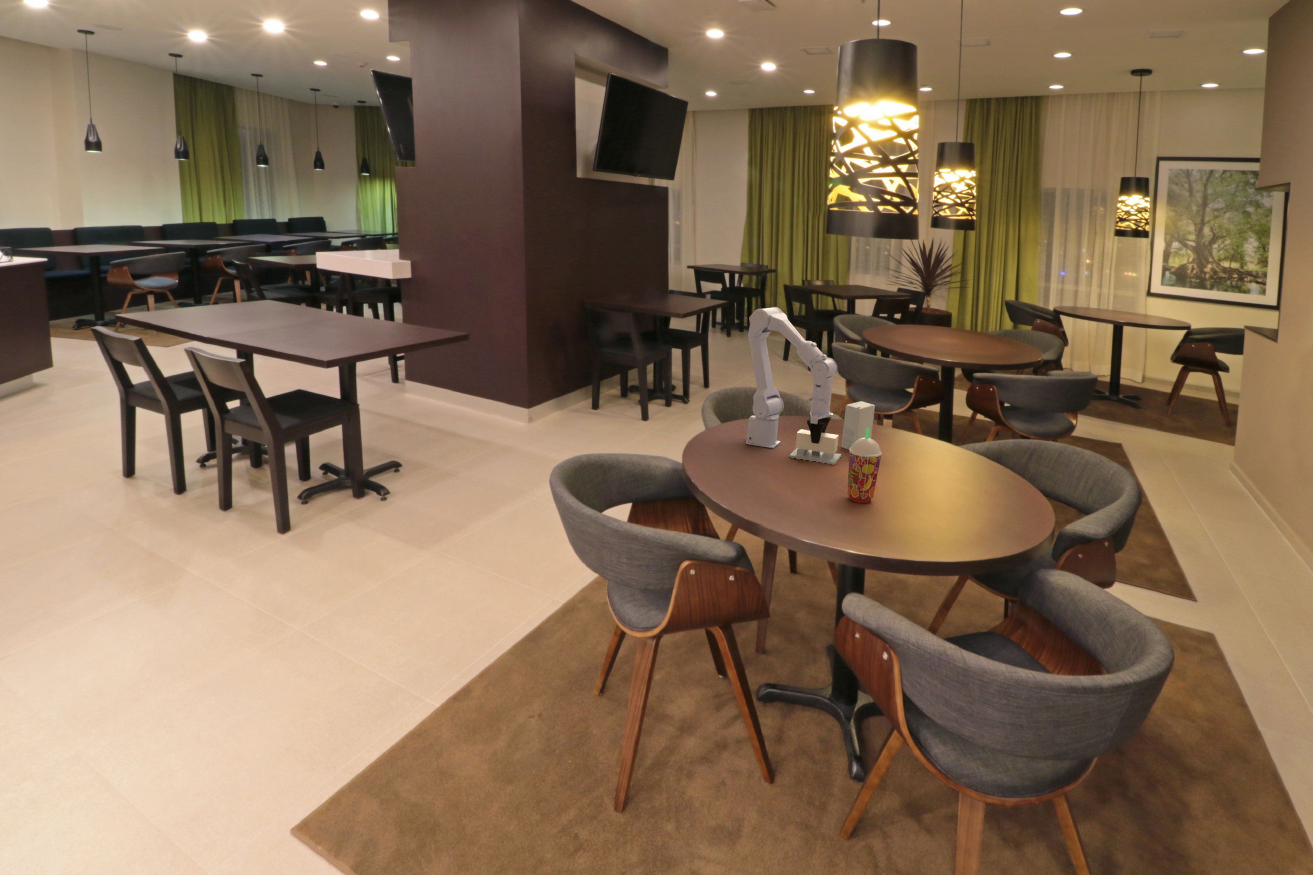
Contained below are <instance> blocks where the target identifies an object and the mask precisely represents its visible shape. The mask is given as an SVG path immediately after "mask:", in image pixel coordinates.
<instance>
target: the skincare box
mask: <svg viewBox="0 0 1313 875" xmlns="http://www.w3.org/2000/svg"><path fill="white" fill-rule="evenodd" d="M875 408H876V405H875V404H873V403H868V402H866V401H862V400H861V401H857V402H853V403H848V404H846V405H845V412H844V420H843V427H842V428H843V429H842V438H841V446H840V447H841V448H842V449H845V450H848V451H849V449H850V448H851V447H852V445H853V443H854V442H855V441H857V440H858V439H860V438H865V437H866V433H867V428H870V429H869V438H871V439H872V434H873V427H874V426H873V424H874V418H875Z"/></svg>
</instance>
